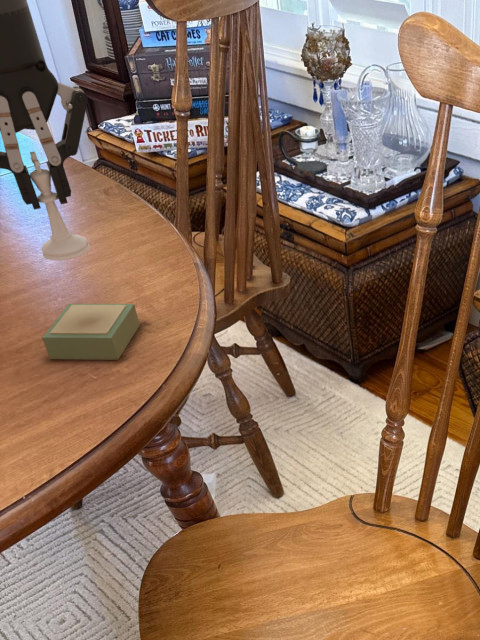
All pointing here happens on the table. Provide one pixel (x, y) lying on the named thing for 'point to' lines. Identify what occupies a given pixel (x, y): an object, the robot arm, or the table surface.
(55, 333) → the green square box
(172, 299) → the table surface
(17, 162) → the robot arm
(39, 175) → the chess piece
